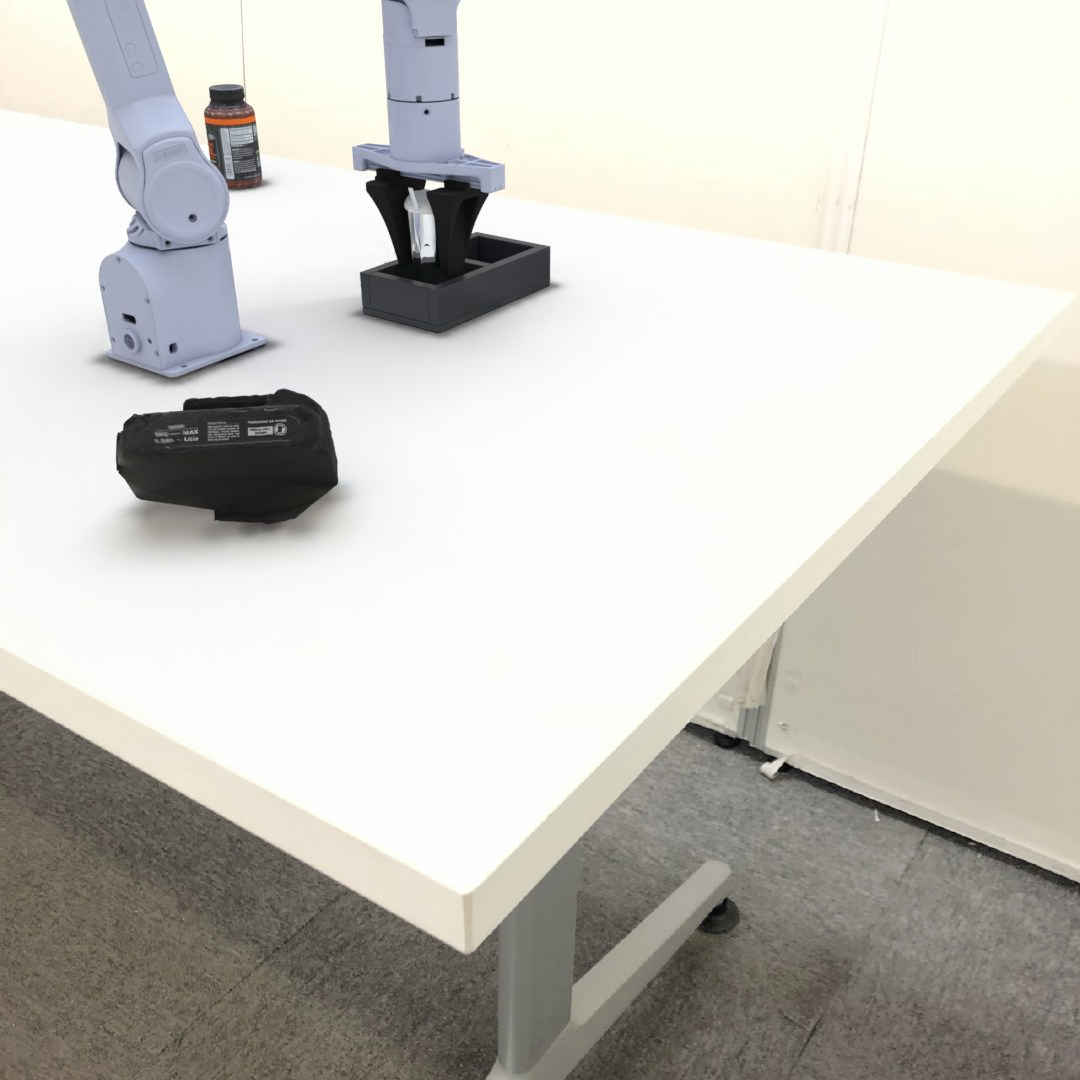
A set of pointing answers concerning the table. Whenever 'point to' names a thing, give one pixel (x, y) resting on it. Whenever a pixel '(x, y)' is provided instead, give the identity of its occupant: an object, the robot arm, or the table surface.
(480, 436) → the table surface
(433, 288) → the dark grey divided tray
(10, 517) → the table surface
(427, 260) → the milkshake
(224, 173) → the supplement bottle
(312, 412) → the battery
